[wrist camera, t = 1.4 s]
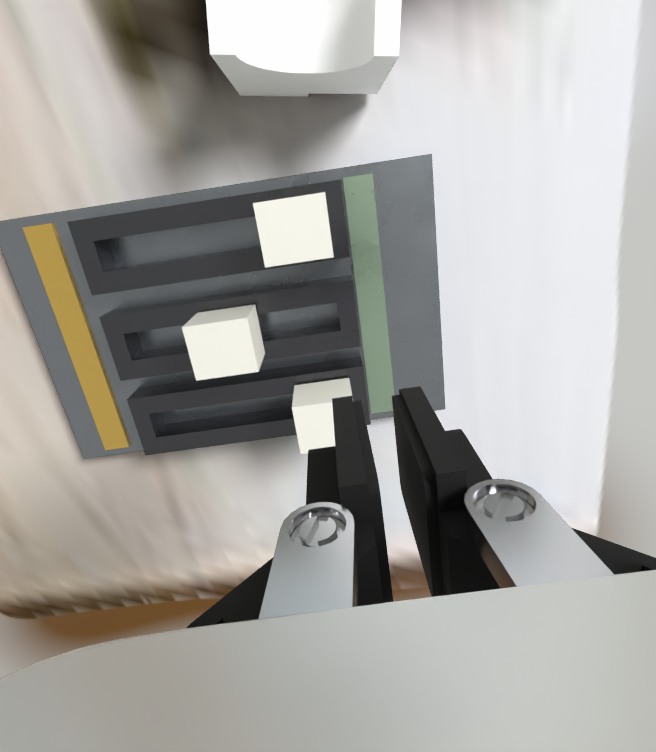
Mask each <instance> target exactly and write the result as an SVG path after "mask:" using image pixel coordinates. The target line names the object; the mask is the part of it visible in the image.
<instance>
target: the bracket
mask: <svg viewBox="0 0 656 752" xmlns="http://www.w3.org/2000/svg"><path fill="white" fill-rule="evenodd" d="M401 2H402V0H206V9H207V22H208V35H209V47H210V55H211V56H212V58H213V59H214V61H215V62H216V63H217V65H218V66H219V67H220V69H221V70H222V71H223V73H224V74H225V75H226V77H227V78H228V80H229V81H230V82H231V84H232V85H233V86H234V88H235V89H236V90H237V92H238V93H239V94H240V96H308V94H377V93H378V91H379V90H380V88H381V86H382V84H383V83H384V81H385V79H386V78H387V76H388V74H389V72H390V71H391V69H392V67H393V65H394V64H395V62H396V60H397V59H398V57H399V42H400V22H401Z"/></svg>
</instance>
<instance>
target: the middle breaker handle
mask: <svg viewBox="0 0 656 752" xmlns="http://www.w3.org/2000/svg"><path fill="white" fill-rule="evenodd" d="M182 330H183V334H184V338H185V341H186V345H187V349H188V352H189V356H190V360H191V364H192V367H193V371H194V375H195V378H196V381H198V380H205V379H212V378H219V377H226V376H233V375H240V374H247V373H254V372H259V369H260V366H261V364H262V361H263V358H264V355H265V350H264V345H263V340H262V335H261V330H260V325H259V320H258V316H257V311H256V306H255V304H254V305H247V306H240V307H233V308H227V309H220V310H213V311H206V312H199V313H196V314H195V315H194V316H193V317H192V318H191V319H190V320H189V321H188V322H187V323H186V324H185V325H184V326H183V327H182Z"/></svg>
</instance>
